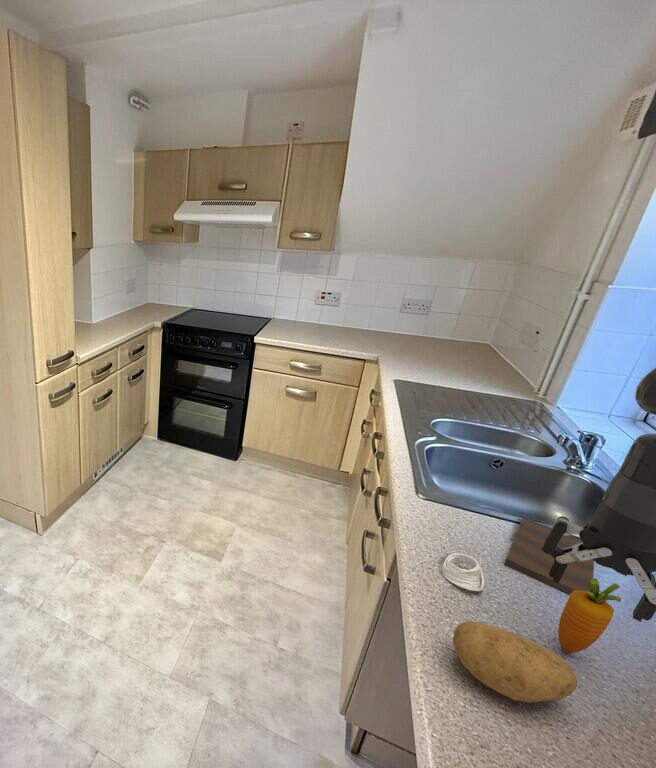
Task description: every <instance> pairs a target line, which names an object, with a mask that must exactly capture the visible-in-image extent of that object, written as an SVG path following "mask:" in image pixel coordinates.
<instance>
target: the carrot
mask: <svg viewBox="0 0 656 768" xmlns="http://www.w3.org/2000/svg"><path fill="white" fill-rule="evenodd" d="M619 588H621V586H620V585H618V584H617V583H613V584H611V585H609V586H608V587H606V588H605V589H604V590H603V591H602V592H600V589H601V588H600V584H599V580H598V579H597V578H595V577H593V578H590V582H589V592H588V591H580V590H574V591H572V592H571V594H569V596H568V598H567V601H566V602H565V605H564V607H563V610H562V612H561V615H560V617H559V623H558V630H557V635H558V642H559V645H560V648H561V650H562V651H563V652H564V653H565V654H574V653H578V652H583V650H584V651H585V650H586V649H588V648H589V647H590V646H592V645H593V644H594V643H595V642H596V641H598V640H599V639H600V638H601V636H602V635H603V634H604V632H605V630H607V628H608V627H609V625H610V623H611V622H612V619H613V616H614V613H615V609H614V607H613V606H611V605H610V604H609V602H608V601H617V602H620V603H621V602H622V601H623V600H622V597H619V596H618V595H614V594H611V593H613V592H614V591H616V590H618V589H619Z"/></svg>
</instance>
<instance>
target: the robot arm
mask: <svg viewBox="0 0 656 768" xmlns="http://www.w3.org/2000/svg"><path fill="white" fill-rule="evenodd" d="M634 399H635V401H636V404H637V405H638V406H639V408H640V409H641V410H643V411H645V412H646V413H649V414H651V415H653V416H656V367H655V368H653V369H652V370H650V371H649V372H648V373H646V375H644V376H643V378H641V380H640V381H639V382H638V384H637V386H636V387H635V392H634ZM602 495H603V496H602V498H601V500H600V501H599V504H598V505H597V508H596V509H595V512H594V513H593V515H592V517H591V519H590V521H589V523H587V525H584V526H580V525H578V524H576V523H574V522H571V521H570V519H569V518H568V517H566V516H564V515H561V516H559V517H558V518H557V520H556V521H555V522H554V524H553V526H552V527H551V528H552V530H551V531H550V533H549V535H548V536H547V538H546V540H545V542H544V545H543V547H542V551H543V552H544V553H546V554H550V555H551V556H553V558H554V559H555V560H554V562H553V564H552V566H551V568H550V571H549V576H550V577H552V578H553V580H552V581H553V582H555V583H557V584H558V583H559V582H560V580H561V578H562V576H563V574H564V572H565V570H566V568H567V565H568V563H570V562H574V561H578V562H581V561H585V560H590V559H593V560H594V563H595V564H596V565H598V566H601V567H605V568H608V569H611V570H613V571H615V572H616V573H618V574H620V575H623V576H625V577H627V576H630V577H631V576H633V577H634V578H635V580H636V582H637V584H638V585H639V587H640V588H641V589H642V591H643V594H642V596H641V598H640V599H639V600H638V602H637V604H636V605H635V607H634V609H633V612H632V619H633V620H635V621H638V622H639V623H640V622H642V620H644V621H647V622H649V621H650V620H652V618H653V617H654V615H655V613H656V578H655V575H654V574H653V573H655V572H656V433H651V432H650V433H643V434H640V435H639V436H637V437H636V438H635V439H634V441H633V442H632V444H631V446H630V448H629V450H628V451H627V453H626V456H625V458H624V460H623V462H622V463H621V466H620V468H619V469H618V471H617V472H616V474H615V475H614V476H613V478H612V479H611V480H610V482H609V484H608V485H607V488H606V490H605V491H604V492H603V494H602ZM575 534H576V535H578V536H579V539H581V540H582V543H578V544H575V545H573V546H571V547H567V548H563V549H561V548H559V547H558V546H557V544H558V542H559V541H560V539H561V537H562V536H563V535H564V536H573V535H575Z"/></svg>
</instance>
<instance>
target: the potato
mask: <svg viewBox="0 0 656 768" xmlns="http://www.w3.org/2000/svg"><path fill="white" fill-rule="evenodd" d="M452 638H453V639H452V645H453V648H454V650H455V652H456V655H457V656H458V658H459V660H460V662H461V664H462V665H463V667H464V668H465V669H466V670H467V671H468V672H469V673H470V674H471V675H472V676H473V677H474V678H476V679H477V680H478V681H479V682H480V683H482V684H483V685H485V686H486V687H487V688H490V689H492V690H493V691H495V692H497V693H499V694H501V695H503V696H505V697H507V698H509V699H511V700H513V701H517V702H523V703H538V702H539V703H540V702H555V701H558V700H562V699H564V698H567V697H568V696H570V695H572V694H573V693H574V692H575V691H576V689H577V687H578V686H579V685H578V678H577V676H576V675H575V672H573V669H572V668H571V666H570V665H569V664H568V662H567V661H566V660H565V659H563V658H562V657H560V656H559V655H558V654H556V653H555V652H554V651H552V650H550V649H548V648H547V647H544V646H542V645H540V644H539V643H536V642H535V641H533V640H532V641H531V640H529V639H527V638H525V637H523V636H521V635H518V634H516V633H513V632H511V631H509V630H506V629H504V628H501V627H497V626H493V625H489V624H487V623H482V622H477V621H473V620H466V621H464V622H463V623H461V624H458V625H457V626H456V628H455V629H454V631H453V637H452Z"/></svg>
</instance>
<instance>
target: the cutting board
mask: <svg viewBox="0 0 656 768" xmlns="http://www.w3.org/2000/svg"><path fill="white" fill-rule="evenodd" d="M552 528H553V527H550V526H548V525H545V524H543V523H540V522H537V521H534V520H532V519H530V518H528V517H527V518H526V517H525V516H522V517H521V520H520V522H519V525H518V527H517V530H516V532H515V534H514V538H513V541H512V543H511V546H510V547H509V550H508V553H507V556H506V558H505V561H504V562H503V565H504V566H506V567H509V568H511V569H513V570H515V571H517V572H519V573H522V574H523V575H526V576H528V577H530V578H532V579H535V580H537V581H539V582H542V583H543V584H546V585H547V586H550V587H552V588H555V589H556V590H558V591H560V592H563V593H565V594H568V595H570V594H571V592H572V591H574V590H580V591H588V592H589V582H590V578H594V569H595V561H594V560H593V559H590V560H585V561H581V562H578V561H574V562H570V563H568V565H567V568H566V570H565V572H564V574H563V576H562V578H561V580H560V582H559V583H558V584H557V583H555V582H553V581H552V580H553V578H552V577H550V576H549V571H550V568H551V566H552V564H553V562H554V560H555V559H554V558H553V556H551V555H550V554H546V553H544V552H543V551H542V547H543V545H544V542H545V540H546V538H547V536H548V535H549V533H550V531H551V530H552ZM578 543H582V540H581V538H580V537H576V536H574V535H571V536H564V535H563V536H562V537H561V539H560V541H559V542H558V544H557V546H558V547H559V548H561V549H563V548H567V547H571V546H573V545H575V544H578Z"/></svg>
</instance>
